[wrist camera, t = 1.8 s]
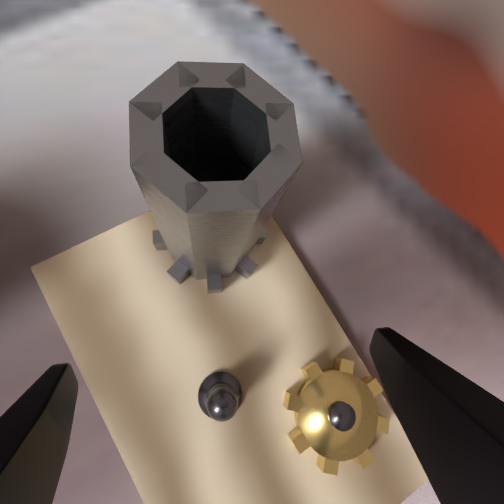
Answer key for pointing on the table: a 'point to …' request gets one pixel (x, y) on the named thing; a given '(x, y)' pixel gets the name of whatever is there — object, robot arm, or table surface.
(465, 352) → the table surface
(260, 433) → the gear board
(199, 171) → the grey octagonal tube
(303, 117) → the table surface
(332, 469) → the brass gear
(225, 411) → the steel peg
